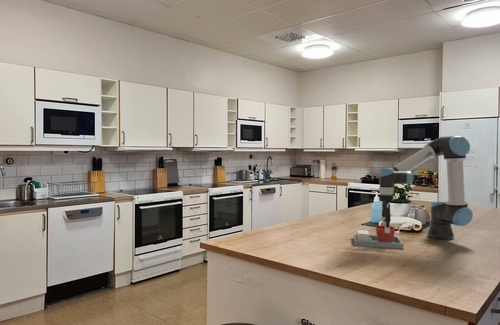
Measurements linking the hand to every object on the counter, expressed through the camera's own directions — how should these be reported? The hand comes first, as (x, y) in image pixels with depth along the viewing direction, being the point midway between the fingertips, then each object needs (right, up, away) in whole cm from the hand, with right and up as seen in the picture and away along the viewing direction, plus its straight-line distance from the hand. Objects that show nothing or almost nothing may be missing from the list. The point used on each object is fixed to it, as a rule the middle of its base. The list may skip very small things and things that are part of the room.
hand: (385, 230), depth 214 cm
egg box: (-12, -8, +3) cm, 15 cm away
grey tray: (-5, -9, +1) cm, 10 cm away
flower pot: (0, -8, 0) cm, 8 cm away
